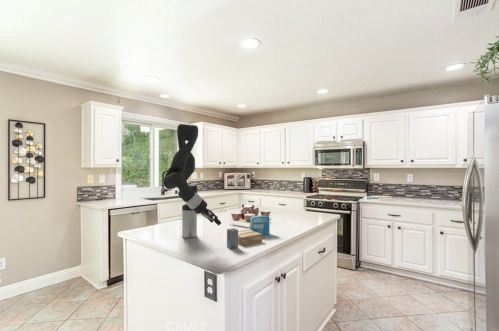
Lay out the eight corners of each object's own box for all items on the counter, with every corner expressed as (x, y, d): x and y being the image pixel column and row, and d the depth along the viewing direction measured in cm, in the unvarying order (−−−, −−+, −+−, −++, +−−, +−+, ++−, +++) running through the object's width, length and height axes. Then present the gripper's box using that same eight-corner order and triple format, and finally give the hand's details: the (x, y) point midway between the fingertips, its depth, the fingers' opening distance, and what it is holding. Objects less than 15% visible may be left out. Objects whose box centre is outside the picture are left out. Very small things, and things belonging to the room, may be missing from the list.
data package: (252, 236, 172) (252, 217, 172) (250, 234, 176) (250, 216, 176) (269, 234, 176) (269, 216, 176) (267, 232, 180) (267, 215, 180)
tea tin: (226, 247, 148) (227, 229, 148) (234, 245, 151) (234, 228, 151) (230, 249, 144) (230, 230, 144) (238, 247, 147) (238, 229, 147)
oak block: (229, 240, 162) (229, 232, 162) (248, 237, 170) (248, 229, 170) (242, 246, 151) (242, 237, 151) (261, 242, 159) (261, 234, 159)
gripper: (206, 198, 132) (227, 219, 138) (195, 196, 144) (215, 215, 150) (196, 210, 129) (217, 231, 135) (186, 206, 141) (206, 225, 147)
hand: (216, 222), depth 142 cm, fingers open, 8 cm apart
